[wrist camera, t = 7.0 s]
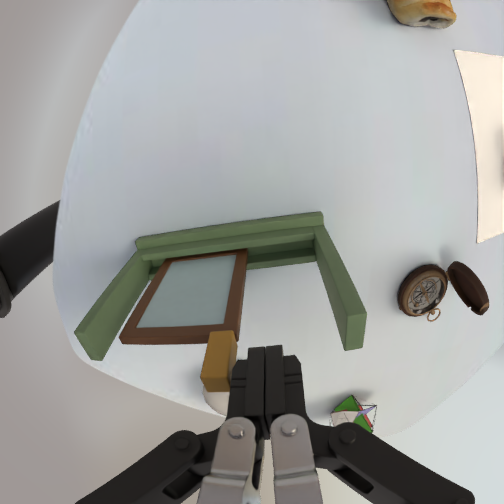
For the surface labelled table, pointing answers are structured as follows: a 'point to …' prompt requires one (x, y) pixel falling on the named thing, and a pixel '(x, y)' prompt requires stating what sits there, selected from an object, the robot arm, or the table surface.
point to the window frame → (259, 256)
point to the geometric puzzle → (352, 414)
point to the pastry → (423, 12)
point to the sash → (195, 310)
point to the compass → (441, 289)
